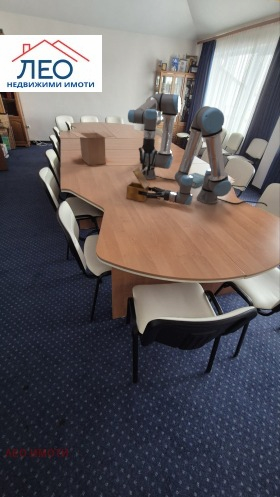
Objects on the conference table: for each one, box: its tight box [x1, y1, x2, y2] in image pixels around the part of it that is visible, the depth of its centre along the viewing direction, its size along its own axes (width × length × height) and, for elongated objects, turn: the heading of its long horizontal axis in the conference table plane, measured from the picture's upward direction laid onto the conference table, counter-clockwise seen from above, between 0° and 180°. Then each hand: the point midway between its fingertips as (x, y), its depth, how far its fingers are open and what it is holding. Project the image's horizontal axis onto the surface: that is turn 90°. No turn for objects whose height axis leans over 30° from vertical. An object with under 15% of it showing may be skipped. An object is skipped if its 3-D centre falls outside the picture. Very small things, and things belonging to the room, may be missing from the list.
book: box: [188, 172, 205, 189], centre depth 200 cm, size 23×16×5 cm
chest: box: [126, 181, 150, 203], centre depth 164 cm, size 14×10×9 cm
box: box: [70, 129, 114, 166], centre depth 229 cm, size 44×36×27 cm
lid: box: [132, 167, 150, 189], centre depth 155 cm, size 14×10×9 cm
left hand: (146, 174), depth 155 cm, fingers closed on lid, 2 cm apart
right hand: (140, 190), depth 163 cm, fingers closed on chest, 10 cm apart
